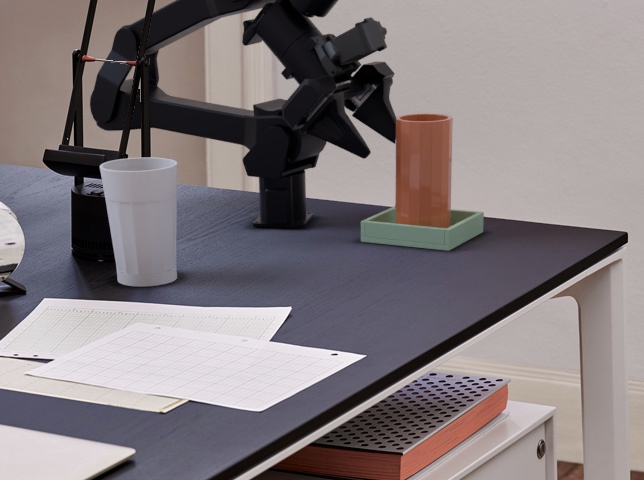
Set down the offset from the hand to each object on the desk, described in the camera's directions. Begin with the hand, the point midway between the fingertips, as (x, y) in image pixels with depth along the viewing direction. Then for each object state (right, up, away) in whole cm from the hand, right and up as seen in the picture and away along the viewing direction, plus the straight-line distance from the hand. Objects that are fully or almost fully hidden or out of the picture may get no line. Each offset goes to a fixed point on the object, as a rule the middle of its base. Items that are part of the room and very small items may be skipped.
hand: (385, 149), depth 157 cm
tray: (+4, -10, +2) cm, 11 cm away
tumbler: (+4, -9, +2) cm, 10 cm away
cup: (-26, -18, -13) cm, 34 cm away
